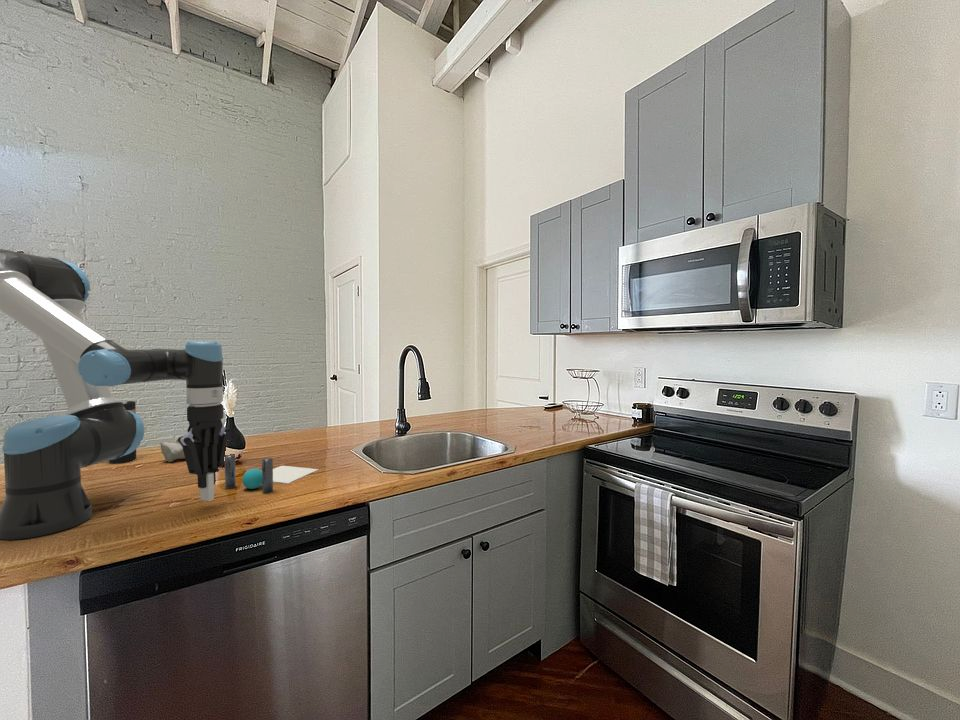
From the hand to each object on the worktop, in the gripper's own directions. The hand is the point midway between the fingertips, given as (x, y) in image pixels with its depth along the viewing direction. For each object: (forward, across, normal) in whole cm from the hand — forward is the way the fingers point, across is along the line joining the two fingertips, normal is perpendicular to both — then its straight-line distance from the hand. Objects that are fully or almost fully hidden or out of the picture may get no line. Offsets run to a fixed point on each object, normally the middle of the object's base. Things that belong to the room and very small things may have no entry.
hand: (207, 499), depth 105 cm
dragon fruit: (+2, +30, +27) cm, 40 cm away
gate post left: (+2, +13, +6) cm, 15 cm away
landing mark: (+2, +27, 0) cm, 27 cm away
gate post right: (+2, +13, -6) cm, 15 cm away
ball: (-1, +14, -1) cm, 14 cm away
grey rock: (+2, +32, +45) cm, 55 cm away
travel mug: (+2, +24, +63) cm, 67 cm away
